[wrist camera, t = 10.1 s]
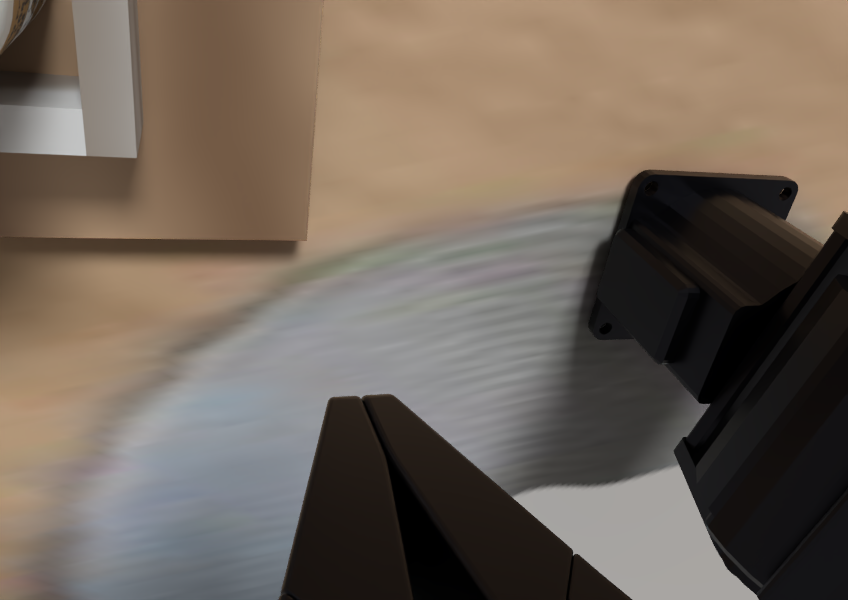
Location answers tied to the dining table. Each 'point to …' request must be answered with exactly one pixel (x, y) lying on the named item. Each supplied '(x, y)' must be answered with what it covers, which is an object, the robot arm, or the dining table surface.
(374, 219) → the dining table surface
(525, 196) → the dining table surface
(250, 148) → the board
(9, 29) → the pill bottle
